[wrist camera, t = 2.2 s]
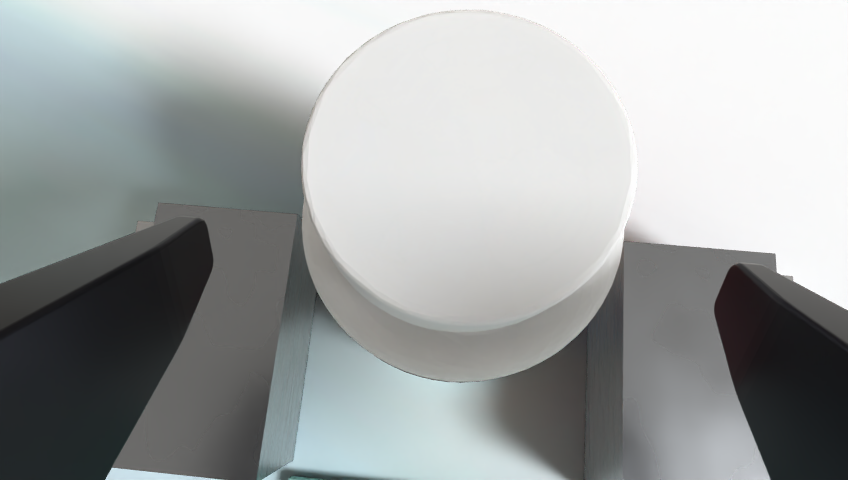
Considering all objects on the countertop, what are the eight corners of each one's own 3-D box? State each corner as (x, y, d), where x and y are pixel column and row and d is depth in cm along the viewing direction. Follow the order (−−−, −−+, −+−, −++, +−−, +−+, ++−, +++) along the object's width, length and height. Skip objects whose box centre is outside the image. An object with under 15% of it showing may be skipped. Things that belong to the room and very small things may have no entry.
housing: (787, 512, 16) (880, 550, 13) (107, 440, 17) (24, 458, 14) (773, 281, 18) (852, 260, 14) (153, 228, 19) (90, 197, 15)
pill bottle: (582, 267, 18) (791, 115, 7) (472, 420, 17) (530, 504, 6) (434, 162, 19) (429, -105, 8) (322, 300, 18) (152, 198, 7)
